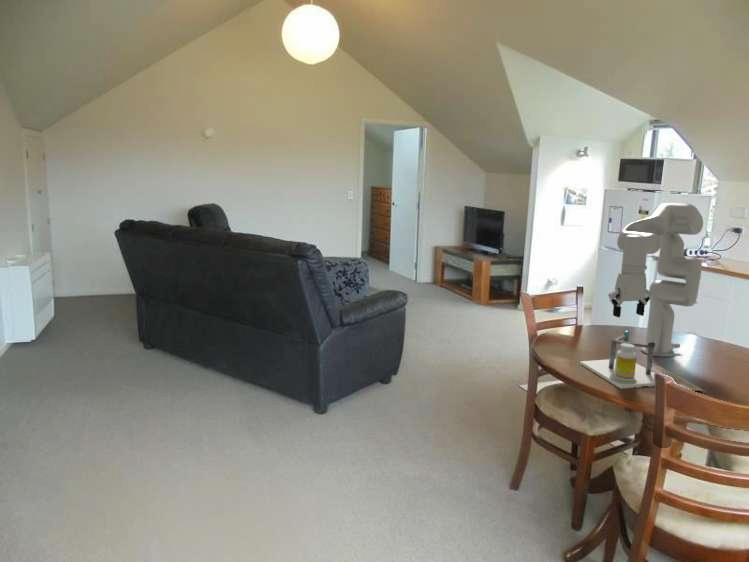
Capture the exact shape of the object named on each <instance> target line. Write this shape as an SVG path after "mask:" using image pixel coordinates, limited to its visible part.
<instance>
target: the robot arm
mask: <svg viewBox="0 0 749 562" xmlns="http://www.w3.org/2000/svg"><path fill="white" fill-rule="evenodd" d="M703 226H704V220H703V216H702V214H701V213H700V211H699V209H698V208H697V207H696V206H695V205H693V204H690V203H679V202H678V203H677V202H676V203H675V202H665V203H664V202H663V203H660V204H659V205H658V206H656V208H655V209H654V210H653V211H652V212H651V214H650V215H649V216H648V217H645V218H642V219H640V220H637V221H634V222H631V223H629V224H627V225H626V226H625V227H624V228H623V229H622V231H621V232H620V234H619V235H618V237H617V241H616V242H617V243H616V244H617V247H618V249H619V250H620V251H622V259H621V260H622V261H621V262H622V263H621V269H620V270H621V272H618V275H617V277H616V280H615V287H614V290H613V291H612V292H610V293H608V295H607V296H608V298H609V301H610V303H611V304H612V305H613V309H612V310H613V311H612V315H613V316H614V317H615V318H621V314H622V304H623V303H624V302H637V303H636V309H635V310H636V312H635V314H636V315H639V316H641V317H643V316H644V314H645V307H646V305H647V304H648V302H649V312H648V321H647V329H646V337H645V344H647V345H648V343H649V342H651V341H652V342H654V343H655V347H654V352H653V357H661V358H667V357H668V358H669V357H672V356H674V354H675V351H674V349H679V348H680V347H681V344H680V343H679V342H678V343H673V342H672V339H673V332H674V331H673V329H674V321H675V315H676V314H675V310H674V308H672V306H671V305H673V306H675V305H676V306H682V307H693V306H694V305H695V304H696V301H697V299H698V294H699V288H700V283H701V277H702V276H701V275H702V267H703V266H702V262H701V260H700V259H699V258H697V257H695V256H687V255H684V248H685V243H684V242H685V241H684V240H683V238H682V236H680V235H687V236H689V235H691V236H695V235H698V234H699V233H701V231H702V229H703ZM658 251H659V254H658V261H657V267H656V268H657V274H658V275H659V276H662V277H665V278H672V279H678V280H684V281H685V282H682V281H681V282H680V281H674V280H667V279H656V280H655V281H652V283H651V284H650V285H649V289H647V274H646V272H645V271H646V270H647V269H648V266H647V265H646V262H647V255H653V254H656V253H657V252H658ZM640 351H641V352H642V353H644V354H647V355H648V348H645V347H640Z"/></svg>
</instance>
